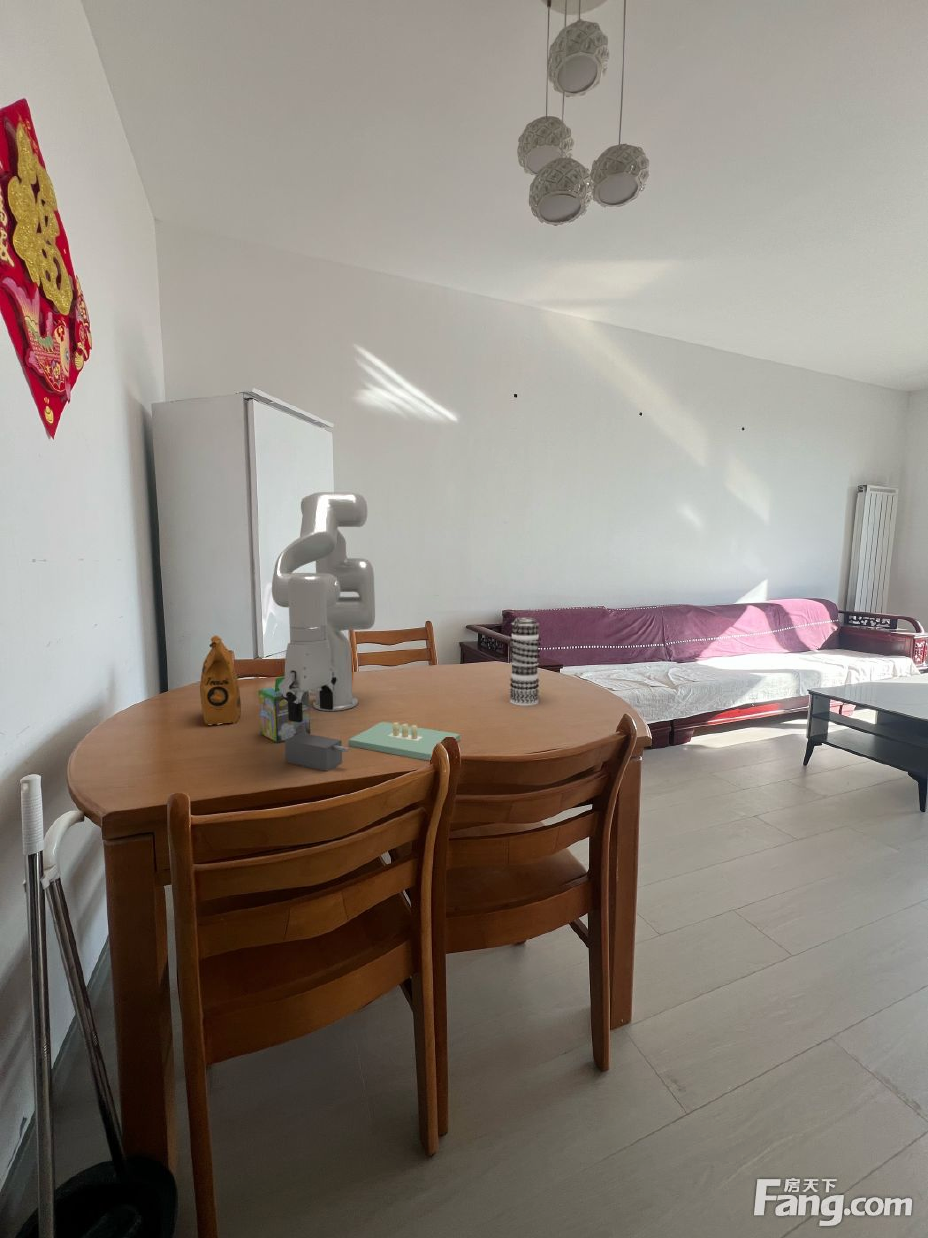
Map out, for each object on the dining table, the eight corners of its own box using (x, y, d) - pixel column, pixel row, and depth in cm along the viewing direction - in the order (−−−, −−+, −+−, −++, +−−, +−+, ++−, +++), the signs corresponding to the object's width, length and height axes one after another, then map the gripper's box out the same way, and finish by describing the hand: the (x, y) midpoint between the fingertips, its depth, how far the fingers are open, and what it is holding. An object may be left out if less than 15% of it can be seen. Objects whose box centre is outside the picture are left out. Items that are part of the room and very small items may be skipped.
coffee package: (198, 728, 138) (192, 643, 135) (203, 714, 149) (198, 635, 146) (240, 724, 141) (235, 641, 138) (242, 710, 153) (238, 633, 150)
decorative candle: (541, 706, 156) (543, 620, 153) (509, 706, 157) (510, 620, 153) (537, 697, 166) (539, 616, 162) (507, 697, 166) (508, 616, 162)
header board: (348, 745, 126) (348, 727, 125) (382, 727, 138) (381, 710, 138) (432, 761, 117) (432, 741, 116) (459, 740, 129) (459, 722, 129)
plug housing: (286, 762, 116) (284, 740, 116) (301, 754, 121) (301, 732, 120) (341, 774, 110) (340, 750, 110) (355, 765, 115) (355, 742, 114)
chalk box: (294, 725, 140) (291, 669, 138) (311, 734, 133) (309, 675, 131) (259, 734, 134) (256, 675, 131) (276, 744, 127) (273, 682, 125)
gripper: (321, 628, 122) (323, 703, 124) (264, 639, 106) (267, 724, 108) (348, 630, 118) (351, 706, 120) (293, 641, 103) (297, 729, 105)
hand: (311, 715), depth 114 cm, fingers open, 9 cm apart
